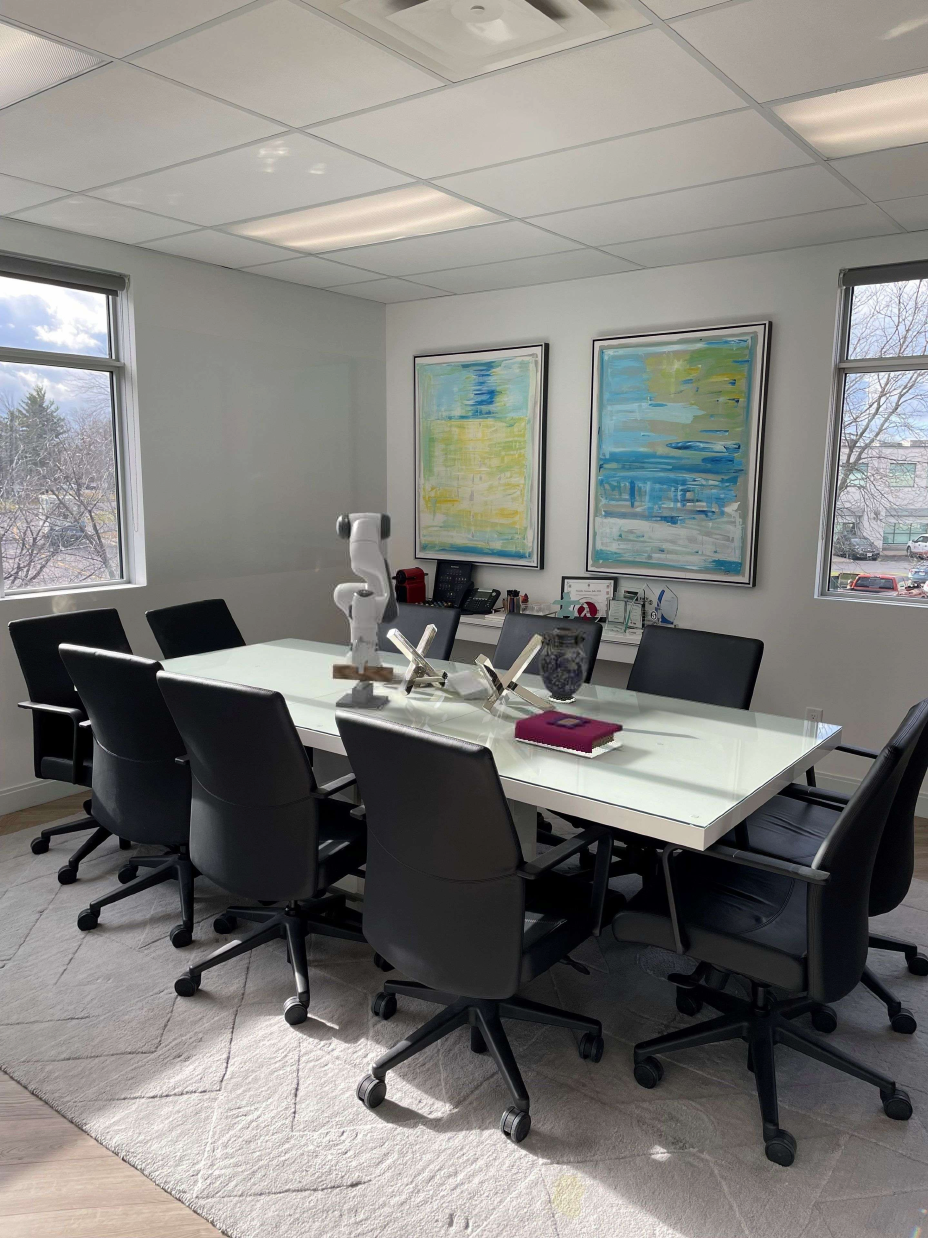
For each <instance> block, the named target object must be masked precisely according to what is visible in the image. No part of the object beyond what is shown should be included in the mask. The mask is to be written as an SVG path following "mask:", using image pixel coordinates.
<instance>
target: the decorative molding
mask: <svg viewBox="0 0 928 1238" xmlns="http://www.w3.org/2000/svg"><path fill="white" fill-rule="evenodd" d="M447 676H448V678H447V679H446V681H447V682H448V683H449V684H450V686H451V687H453V688H454V690H455V691H456V692H457V693H458V694H459V695H460V696H461V697H462V699H463V700H474V699H475V700H476V699H480V700H481V699H482V700H487V699H486V698H488V697H489V698H490V694H489V690H488V687H487V686H486V685H485V684H484V683H483V682H481V681H480V679H478V678H477V677H476V675H474V674H473V673H472V672H471V671H470V670H468V669H466V670H462V671H459V672H455V673H452V674H449V675H447Z"/></svg>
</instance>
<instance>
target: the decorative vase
mask: <svg viewBox="0 0 928 1238" xmlns="http://www.w3.org/2000/svg"><path fill="white" fill-rule="evenodd" d="M541 638H542V639H541V641H542V643H544V645H545V647H544V649H542V650H541V653H540V655H539V660H538V667H539V674H540V678H541V681H542V683H543V685H544V687H545V689H546V690H547V691H548V692H549V693H551V694H550V695H549V696H548V697H550V698H553V699H556V700H561V701H566V700H571V699H573V698H575V697H574V696H573V695H574V694H575V693H577V692H578V691H579V690H580V689H581V687H582V685H583V683H584V682H585V679H586V676H587V674H588V673H587V672H588V667H589V666H588V665H589V661H588V660H589V659H588V655H587V653H586V651H585V650H584V645H583V642H585V640H587V631H586V629H583V628H582V629H581V628H580V629H579V630H578V631H577V630H576V628H574V627H573V628H572V627H567V626H565V627H563V626H559V627H555V628H554V630H552V632H551V631H550V630H545V631H543V633H542V635H541Z"/></svg>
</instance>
